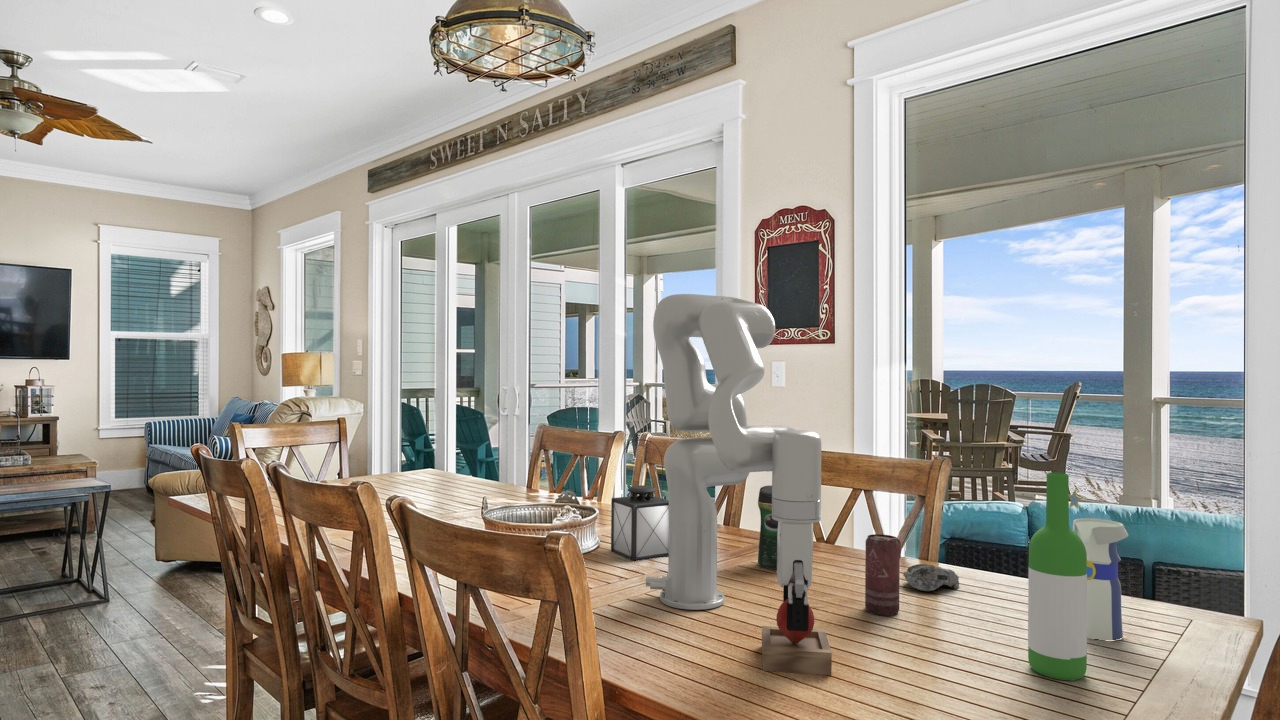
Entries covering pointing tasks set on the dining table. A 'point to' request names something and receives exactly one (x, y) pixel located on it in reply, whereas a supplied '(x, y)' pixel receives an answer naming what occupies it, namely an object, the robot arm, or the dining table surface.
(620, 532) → the lantern
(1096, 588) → the white spray bottle
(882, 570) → the can
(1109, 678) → the dining table surface
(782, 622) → the onion
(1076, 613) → the wine bottle
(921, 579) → the fossilized seashell
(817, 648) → the wooden square tray
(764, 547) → the coffee jar
